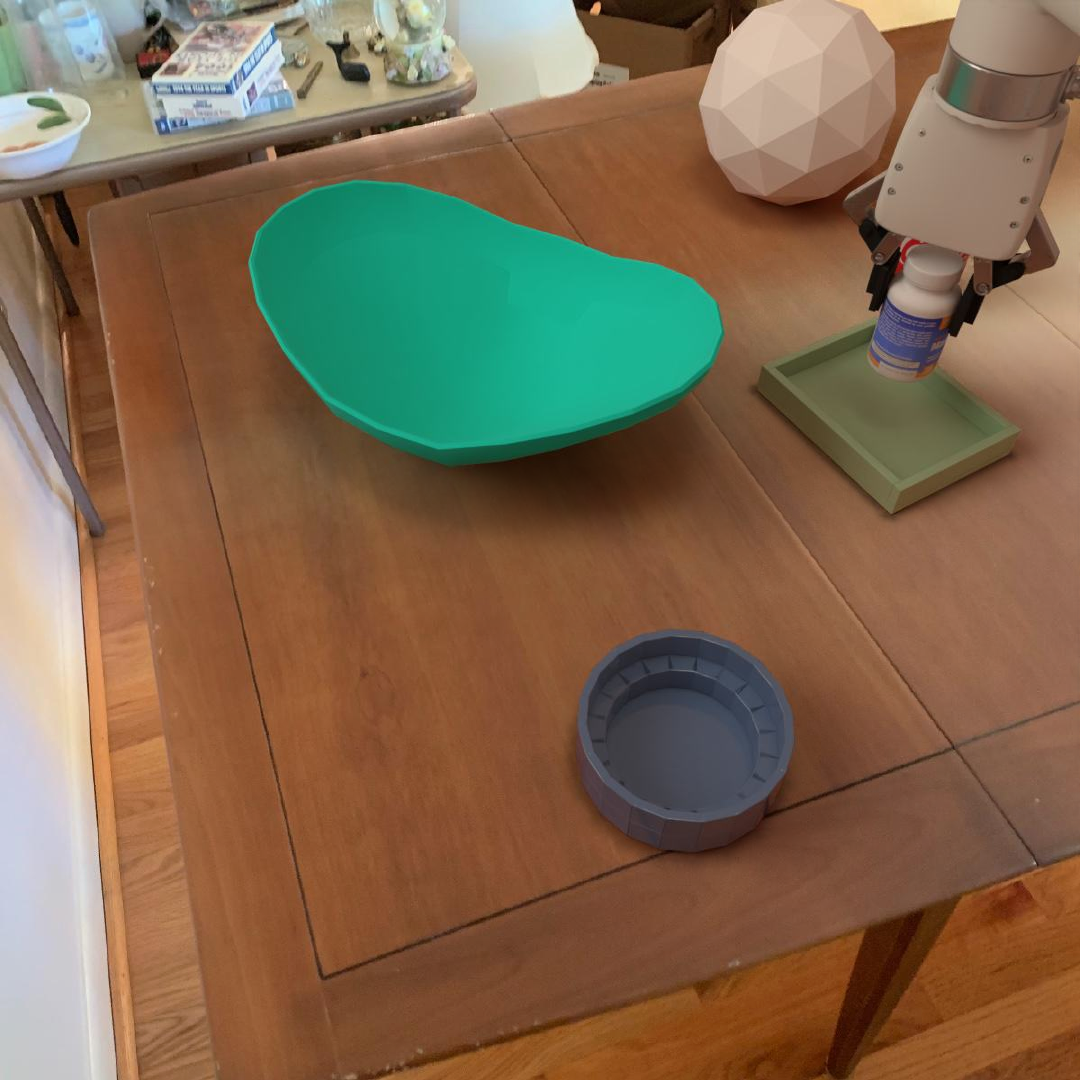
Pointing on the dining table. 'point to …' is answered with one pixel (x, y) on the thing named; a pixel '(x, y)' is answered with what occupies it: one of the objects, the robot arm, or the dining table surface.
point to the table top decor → (472, 324)
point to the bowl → (683, 739)
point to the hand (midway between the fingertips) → (917, 311)
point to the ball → (799, 100)
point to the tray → (885, 419)
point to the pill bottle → (917, 314)
